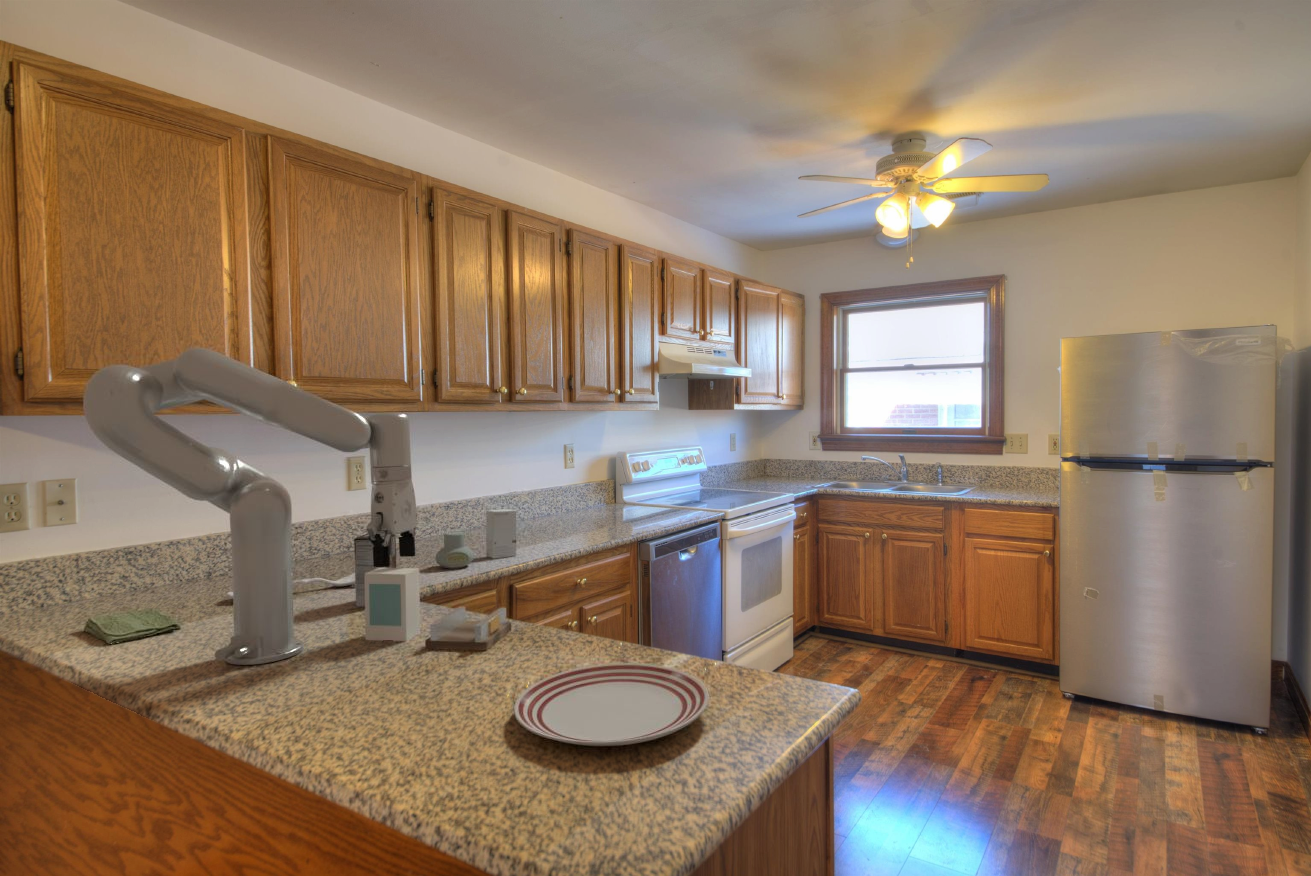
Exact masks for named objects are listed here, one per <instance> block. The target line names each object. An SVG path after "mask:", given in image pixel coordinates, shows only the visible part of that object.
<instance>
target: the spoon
mask: <svg viewBox="0 0 1311 876" xmlns="http://www.w3.org/2000/svg"><path fill="white" fill-rule="evenodd" d="M310 583H311V584H313V583H323V584H327V585H331V586H335V587H347V586H351V585H354V584H355V571H354V572H352V573H351V574H349V575H347V576H344V577H342V578H339V579H337V580H329V579H326V578H320V577H313V578H303V579H301V578H300V579H297V580H293V586H297V585H306V584H310ZM226 597H227V598H228V599H232V600H233V591H229V592H226Z"/></svg>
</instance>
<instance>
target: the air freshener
mask: <svg viewBox="0 0 1311 876" xmlns="http://www.w3.org/2000/svg"><path fill="white" fill-rule="evenodd" d="M465 535H466V534H465V532H463V531H449V532H444V535H443V548H441V549H440V550H438V551H437V552H436V553H435V556H434V557H435V558H434V560H435V561H436V564H437V565H439V566H441V567H442V568H445V569H448V570H449V569H450V570H458V569H462V568H465V567H467V566H468V565H470V564H471V563H472V562H473V560H474V557H475V553H474V551H473V550H472V549H471V548H469V547H468V546H466V538H465Z"/></svg>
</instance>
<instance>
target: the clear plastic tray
mask: <svg viewBox="0 0 1311 876" xmlns="http://www.w3.org/2000/svg"><path fill="white" fill-rule="evenodd" d="M465 621H467V620H466V606H458V607H456V608H455V609H453V610H452V611H450V612H449V613H446V614H445V615H443V616H442V617H440V618H438V619H437V620H435V621H434V622H432V623H430V624H429V625H430V628H429V629H430V637H431V641H437V640H438V639H440V638H441V637H443V636H444V635H446V634H447V633H449V632H450V631H452V630H453V629H455V628H456V627H458V626H459V625H461V624H462V623H464V622H465ZM479 622H480V623H478V624H477V625H475V642H482V641H483V640H485V639H486V638H487V637H488V636H490V635H491V634H492V633H494V632H495V631H496V630H497V629H499V628H500V627H501V626H502V625H504V624H505V623H506V622H507V608H506V607H499V608H498V609H496V610H495V611H493V612H492V613H490V614H489V615H488V616H486V617H485V618H484V619H482V620H481V621H479Z"/></svg>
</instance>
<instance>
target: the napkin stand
mask: <svg viewBox="0 0 1311 876" xmlns="http://www.w3.org/2000/svg"><path fill="white" fill-rule="evenodd" d="M480 622H481V621H474V620H473V621H472V620H469V621H468V620H466V621H465V622H464V623H462V624H461V625H459V626H458V627H456V628H455V629H453V630H452V631H450V632H449V633H447V634H446V635H444V636H443V637H441V638H440V639H438V640H437V641H431V636H430V637H428V638H426V639H425V642H424V643H425V644H424V646H425V647H424V648H425V649H432V648H433V650H438V649H439V650H458V651H459V650H461V651H462V650H463V651H464V650H465V651H486V652H487V651H489V650H490V648H491V647H492V646H494V645H495V644H496V643H498V642H499V641H500V640H501V639H502V638H503V637H505V636H506V635H507V634H509V633H510V632H511V631H512V622H509V621H508V622H507V621H506V623H505V624H504V625H502V626H501V627H500V628H499V629H497V630H496V631H495V632H494V633H492V634H491V635H490V636H488V637H487V638H486V639H485V640H483V641H482V642H475V625H477V624H478V623H480Z"/></svg>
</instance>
